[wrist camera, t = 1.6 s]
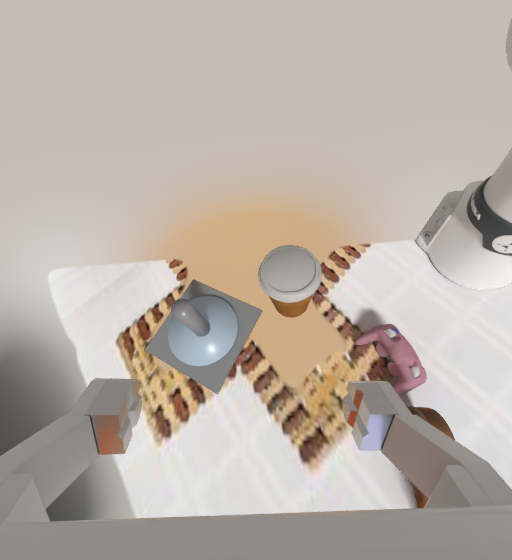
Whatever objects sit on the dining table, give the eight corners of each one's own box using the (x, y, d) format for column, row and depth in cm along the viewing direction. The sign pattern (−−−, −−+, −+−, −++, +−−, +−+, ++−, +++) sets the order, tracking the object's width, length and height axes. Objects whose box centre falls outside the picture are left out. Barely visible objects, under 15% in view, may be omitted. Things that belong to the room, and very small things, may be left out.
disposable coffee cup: (303, 272, 52) (304, 233, 41) (326, 313, 47) (334, 282, 37) (258, 290, 51) (248, 256, 41) (277, 334, 47) (271, 309, 36)
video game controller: (404, 392, 41) (441, 378, 36) (384, 401, 39) (420, 388, 34) (369, 334, 46) (397, 315, 41) (349, 340, 44) (376, 320, 39)
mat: (194, 280, 55) (193, 279, 54) (262, 311, 49) (262, 310, 49) (146, 350, 49) (144, 349, 48) (217, 394, 43) (216, 393, 43)
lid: (195, 288, 53) (172, 259, 44) (251, 314, 49) (239, 287, 39) (155, 346, 48) (121, 327, 39) (214, 380, 44) (191, 369, 35)
